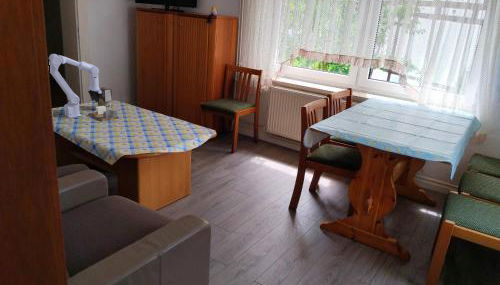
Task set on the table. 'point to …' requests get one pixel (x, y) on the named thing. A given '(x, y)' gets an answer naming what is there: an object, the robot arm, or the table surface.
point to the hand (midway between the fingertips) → (95, 101)
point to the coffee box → (106, 98)
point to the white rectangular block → (100, 109)
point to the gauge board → (105, 115)
